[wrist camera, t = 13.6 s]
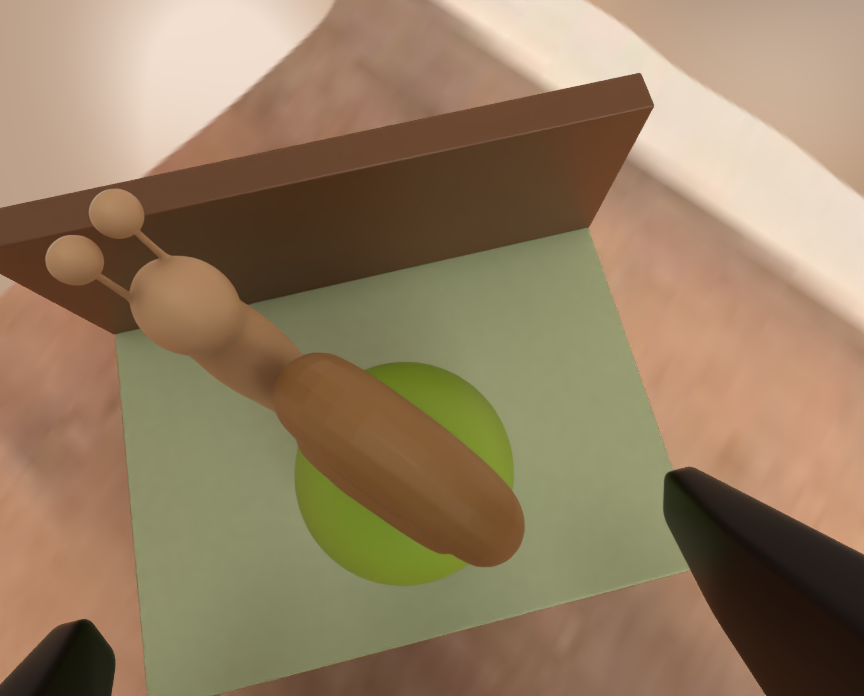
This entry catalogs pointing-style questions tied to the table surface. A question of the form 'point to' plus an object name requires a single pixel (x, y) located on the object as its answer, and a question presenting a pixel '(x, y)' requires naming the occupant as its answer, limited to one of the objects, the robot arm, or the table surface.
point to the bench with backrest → (367, 347)
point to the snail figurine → (333, 418)
